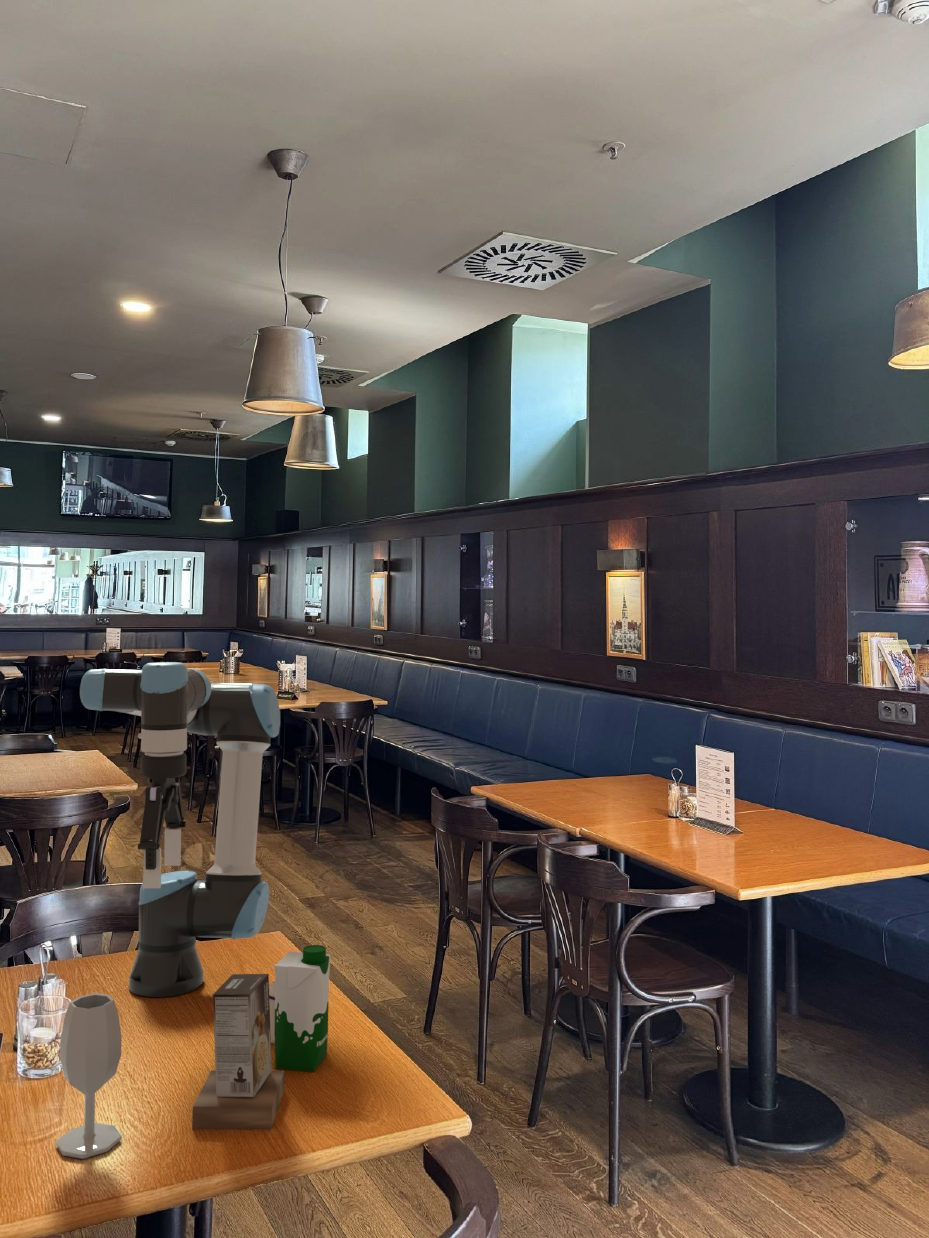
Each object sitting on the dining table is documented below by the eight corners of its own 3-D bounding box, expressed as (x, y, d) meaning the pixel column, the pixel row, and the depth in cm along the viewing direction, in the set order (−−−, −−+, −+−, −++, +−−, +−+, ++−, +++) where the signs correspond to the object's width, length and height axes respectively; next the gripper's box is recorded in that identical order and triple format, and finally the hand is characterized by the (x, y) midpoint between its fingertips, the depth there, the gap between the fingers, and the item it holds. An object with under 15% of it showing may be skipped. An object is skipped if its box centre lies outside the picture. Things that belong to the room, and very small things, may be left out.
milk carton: (317, 1075, 164) (319, 957, 164) (267, 1070, 165) (269, 954, 166) (333, 1052, 172) (335, 941, 173) (285, 1048, 174) (287, 938, 174)
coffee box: (234, 1070, 158) (232, 972, 158) (272, 1071, 157) (270, 972, 157) (214, 1097, 148) (211, 993, 149) (254, 1098, 148) (252, 993, 148)
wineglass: (44, 1147, 140) (47, 1003, 140) (96, 1122, 147) (99, 985, 147) (80, 1167, 135) (83, 1017, 135) (133, 1140, 142) (135, 998, 143)
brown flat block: (210, 1094, 158) (211, 1070, 158) (284, 1094, 158) (284, 1070, 158) (192, 1132, 146) (192, 1106, 146) (271, 1132, 146) (271, 1106, 146)
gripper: (160, 742, 176) (159, 856, 177) (119, 764, 152) (118, 898, 152) (201, 742, 177) (200, 856, 177) (167, 764, 152) (166, 898, 152)
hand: (162, 876), depth 164 cm, fingers open, 13 cm apart
